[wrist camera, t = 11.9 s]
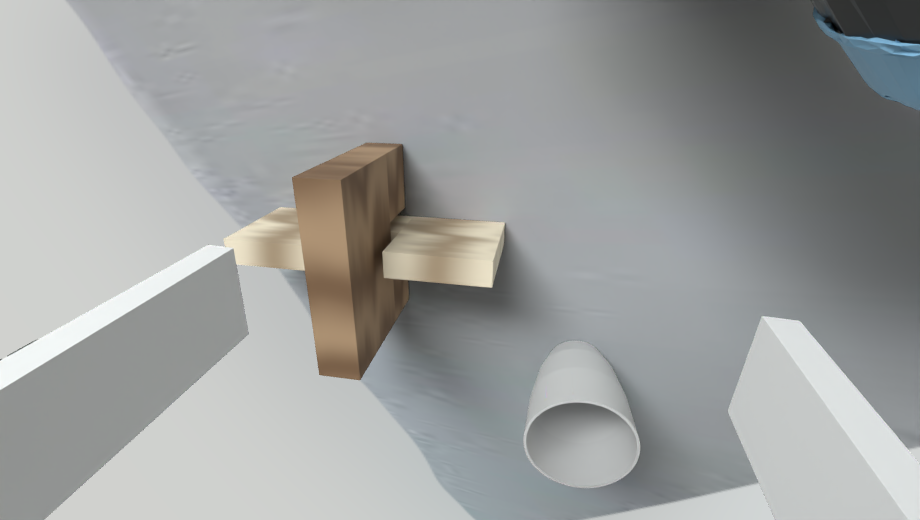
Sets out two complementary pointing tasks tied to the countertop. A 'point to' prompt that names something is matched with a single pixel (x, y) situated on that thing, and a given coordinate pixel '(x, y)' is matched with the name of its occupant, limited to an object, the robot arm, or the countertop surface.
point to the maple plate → (388, 247)
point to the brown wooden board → (351, 253)
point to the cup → (580, 420)
